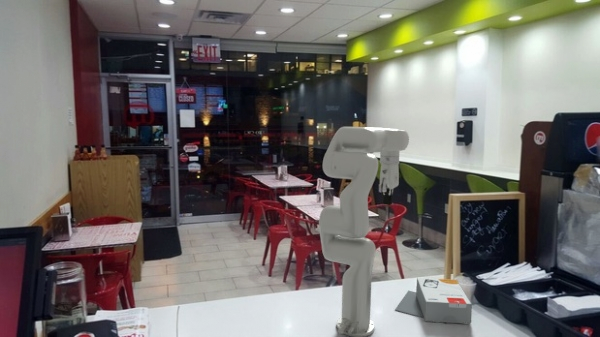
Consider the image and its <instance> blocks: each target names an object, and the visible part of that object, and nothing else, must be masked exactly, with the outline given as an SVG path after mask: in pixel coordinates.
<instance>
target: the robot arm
mask: <svg viewBox="0 0 600 337" xmlns="http://www.w3.org/2000/svg"><path fill="white" fill-rule="evenodd" d="M409 144H410V136H409V133H408V132H407V131H406V130H404V129H397V128H383V127H369V126H367V127H366V126H364V127H363V126H341V127H340V128H338V130H336V132H335V133H334V135H333V136H332V139H331V141H330V142H329V146H328V147H327V150H326V152H325V153H324V156H323V160H322V171H323V173H324V174H325V175H326V176H327V177H329V178H334V179H345V180H352V181H351V182H349V184H348V185H347V186H345V188H344V189H343V190H342V191H341V193H340V195H339V205H332V204H331V205H326V206H325V207H324V208H322V210H321V212H320V215H319V218H318V228H319V237H320V243H321V244H320V245H321V250H322V254H323V257H324V259H325V260H327V261H330V262H334V263H340V264H345V265H348V266H350V267H349V268H348V269H346V271H345V272H344V273H343V275H342V284H341V285H342V286H341V287H342V288H341V292H342V293H341V317H340V318H338V319H337V322H336V327H337V331H338V333H339V334H340V335H346V336H349V337H367V336H368V337H369V336H370V335H372V334H373V333H374V331H375V323H374V321H372V319H371V304H372V302H371V301H372V278H373V267H374V263H375V262H374V261H375V257H376V250H377V249H376V245H375V243H374V242H373V240H371V239H370V238H367V237H366V236H367V235H368V233H369V229H370V221H369V220H370V219H369V204H368V203H369V202H368V200H369V199H368V198H369V194H370V191H371V189H372V187H373V184H374V182H375V181H376V177H377V174H378V171H379V164H380V165H381V166H380V173H379V187H380V188H381V189H382V191H381V192H382V193H383V199H382V200H383V203H382V204H383V205H387V206H392V205H393V196H394V195H393V194H394V189H395V188H397V187H398V186H399V185H400V184H399V183H400V182H399V181H400V180H399V177H400V176H399V175H400V172H399V171H400V170H399V164H400V152H401V151H405V150H406V149H407V148H408V145H409ZM371 153H379V159H378V158H377V157H376V155H374V154H371Z"/></svg>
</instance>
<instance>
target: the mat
mask: <svg viewBox="0 0 600 337" xmlns="http://www.w3.org/2000/svg"><path fill="white" fill-rule="evenodd" d="M394 311H396V312H400V313H404V314H407V315H411V316H415V317H419V318H422V319H425V318H424V316H423V313H422V310H421V307H420V304H419V301H418V298H417V296H416V291H413V290H407V292H406V293H405V295H404V296H403V298H402V299H401V300H400V302H399V303H398V304H397V306H396V308H395V309H394ZM439 323H441V324H444V325H447V324H448V322H439Z"/></svg>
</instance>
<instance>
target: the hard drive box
mask: <svg viewBox="0 0 600 337" xmlns="http://www.w3.org/2000/svg"><path fill="white" fill-rule="evenodd" d="M415 290H416V291H415V292H416V296H417V298H418V301H419V304H420V307H421V310H422V313H423V316H424V318H423V319H424V321H425V322H432V323H433V322H434V323H435V322H436V323H440V322H447V323H450V324H451V323H452V324H455V323H456V324H471V323H472V312H473V303H472V302H471V300H470V299H469V296H468V295H467V294H466V292H465V291H464V289H463V287H462V286H461V283H459V281H458V279H449V278H430V277H429V278H428V277H427V278H426V277H417V278H416V289H415Z"/></svg>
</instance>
